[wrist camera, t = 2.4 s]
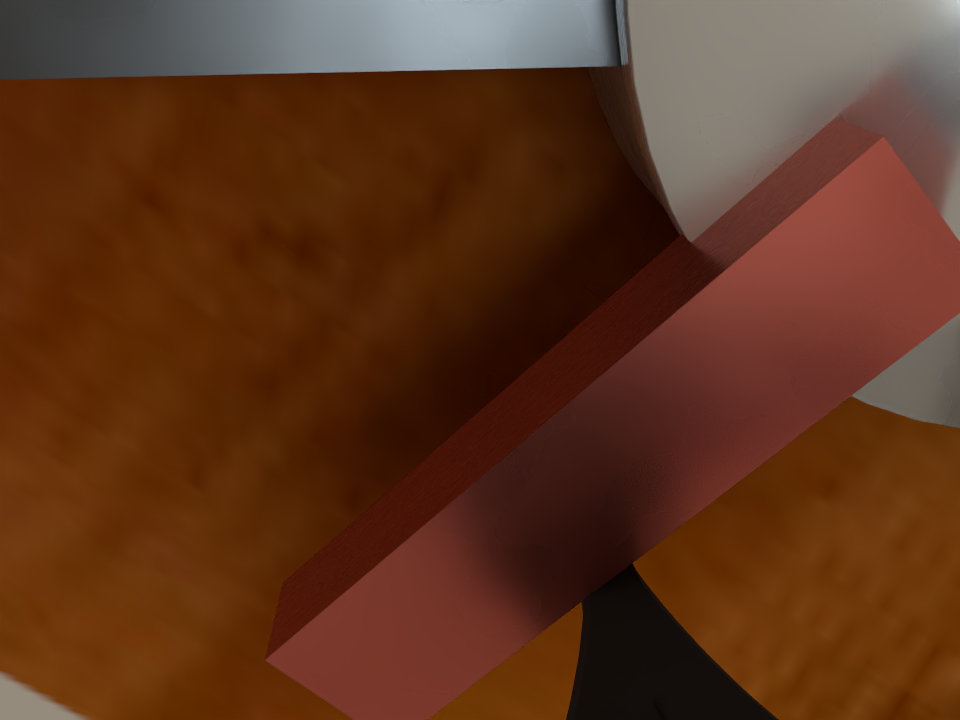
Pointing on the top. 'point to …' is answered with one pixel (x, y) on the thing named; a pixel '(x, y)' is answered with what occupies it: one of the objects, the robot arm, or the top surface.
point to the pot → (319, 41)
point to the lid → (675, 342)
